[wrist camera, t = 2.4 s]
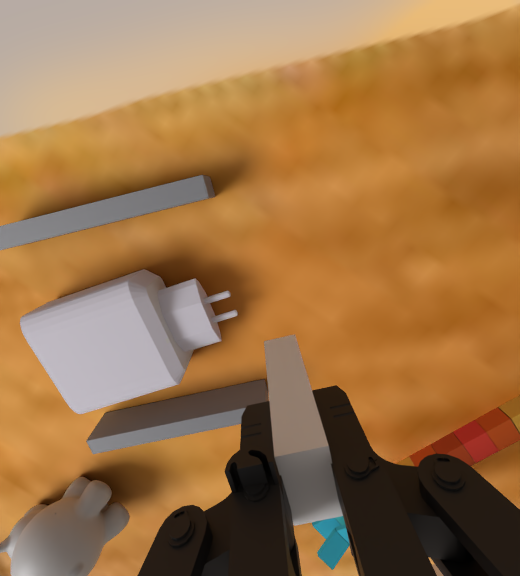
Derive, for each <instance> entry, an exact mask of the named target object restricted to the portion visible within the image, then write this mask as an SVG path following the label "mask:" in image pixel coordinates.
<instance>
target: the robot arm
mask: <svg viewBox="0 0 520 576" xmlns="http://www.w3.org/2000/svg"><path fill="white" fill-rule="evenodd" d="M264 346H265V357H266V368H267V380H268V391H269V401H266V402H262V403H257V404H252V405H248V406H247V407H246V409H245V411H244V412H243V414H242V417H241V442H240V450H239V451H238V452H237V453H235V454H234V455H233V456H232V457H231V459H230V460H229V461H228V463H227V466H226V469H225V474H226V477H227V479H228V482H229V485H230V488H231V490H232V493H231V494H230V495H229V496H228V497H227V498H226V499H224V500H223V501H221V502H220V503H218V504H217V505H215V506H213V507H211V508H209V509H208V510H206V511H204V512H203V510H202V509H201V508H200V507H197V506H194V505H189V506H183V507H181V508H179V509H177V510H176V511H174V512H173V513H172V514H171V515H170V516H169V517H167V518H166V519H165V521H164V523H163V524H162V526H161V527H160V529H159V531H158V533H157V535H156V537H155V540H154V542H153V544H152V546H151V548H150V550H149V552H148V555H147V557H146V559H145V561H144V563H143V565H142V568H141V570H140V572H139V574H138V576H302V574H301V567H300V560H299V552H298V546H297V543H296V539H295V536H294V528H293V524H294V526H295V525H300V524H305V523H310V522H315V521H320V520H325V519H330V518H335V517H340V516H343V518H344V521H345V525H346V529H347V534H348V539H349V544H350V548H351V553H352V556H353V557H354V560H355V564H356V567H357V571H358V575H359V576H437V575H436V573H435V571H434V569H433V567H432V565H431V563H430V560H429V558H428V557H431V559H432V560H433V562H434V563H435V564H436V566H437V567H438V568H439V570H440V571H441V573H442V574H443V575H444V576H520V510H519V509H518V508H517V507H516V506H515V505H514V504H513V503H511V502H510V501H509V500H508V499H507V498H506V497H505V496H504V495H502V494H501V493H500V492H499V491H498V490H497V489H496V488H494V487H493V486H492V485H491V484H490V483H489V482H488V481H487V480H485V479H484V478H483V477H482V476H481V475H480V474H479V473H477V472H476V471H475V470H474V469H473V468H472V467H471V466H469V465H468V464H466V463H465V462H464V461H462V460H461V459H459V458H456V457H453V456H451V455H448V454H432V455H428V456H426V457H425V458H424V459H422V460H421V461H420V463H419V466H418V467H417V466H407V465H399V464H394V463H391V462H388V461H386V460H384V459H383V458H381V457H379V456H378V455H377V454H376V453H375V452H374V451H373V449H372V448H371V446H370V444H369V442H368V440H367V438H366V436H365V433H364V431H363V429H362V427H361V425H360V423H359V421H358V418H357V416H356V414H355V412H354V410H353V408H352V406H351V404H350V401H349V399H348V397H347V395H346V393H345V392H344V391H343V390H341V389H340V388H339V387H338V386H331V387H327V388H322V389H317V390H313V391H312V389H311V386H310V383H309V379H308V376H307V373H306V369H305V366H304V363H303V360H302V356H301V353H300V350H299V346H298V343H297V340H296V336H295V335H290V336H286V337H281V338H277V339H273V340H268V341H264Z"/></svg>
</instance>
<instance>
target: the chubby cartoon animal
mask: <svg viewBox="0 0 520 576" xmlns="http://www.w3.org/2000/svg"><path fill="white" fill-rule="evenodd" d="M111 495H112V491H111V488H110V487H109V486H108V485H107V484H105V483H104V482H102V481H99V480H93V481H92V482H91V481H90V480H88V479H87V478H85V477H78V478H77V479H75V480H74V481H73V482H72V484H71V485H70V486H69V487H68V489H67V490H66V492H65V494H64V496H63V497H62V499H61V500H59V501H57V502H54V503H52V504H50V505H49V506H47V505H45V504H40V505H36V506H34V507H32V508H31V509H30V510H29V511H28V512H26V514H25V515H24V517H22V518H21V519H20V520H19V521H18V522H17V523H16V525H15V526H14V527H13V529H12V531H11V533H10V535H9V536H8V537H7V538H6V539H5V540H4V541H3V542H1V543H0V553H1V552H7V553H8V555H9V557H10V558H11V576H87V575H88V574H89V573H90V572H91V570H92V569H93V567H94V566H95V564H96V562H97V560H98V558H99V556H100V553H101V551H102V548H103V546H104V545H105V544H106V543H107V542H108V541H109V540H111V539H112V538H114V537H115V536H116V535H117V534H119V533H120V532H121V531H122V530H123V529H124V527H125V526H126V525H127V523H128V521H129V513H128V511H127V510H126V509H125V507H124V506H123V505H121V504H120V503H118V502H115V503H112V504H111V505H110V506H109V505H108V504H107V502H108V501H109V499H110V498H111Z"/></svg>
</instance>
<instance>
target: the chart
mask: <svg viewBox="0 0 520 576" xmlns="http://www.w3.org/2000/svg"><path fill="white" fill-rule="evenodd" d="M453 433H454V434H453ZM519 440H520V395H519V396H517V397H515V398H514V399H512V400H510V401H508V402H506V403H505V404H503V405H501V406H499V408H498V407H497V408H496V409H494V410H492V411H490V412H488V413H487V414H485V415H483V416H481V417H479V418H478V419H476V420H474V421H472V422H470V423H468V424H467V425H465V426H463V427H461V428H459V429H458V430H456V431H454V432H452V433H450V434H449V435H447V436H445V437H443V438H441V439H440V440H438V441H436V442H434V443H432V444H431V445H429V446H427V447H425V448H423V449H422V450H420V451H418V452H416V453H414V454H412V455H411V456H409V457H407V458H405V459H403V460H402V461H400V462H398V463H396V464H399V465H407V466H417V467H418V466H419V463H420V461H421V460H422V459H424V458H425V457H426V456H428V455H432V454H448V455H451V456H453V457H456V458H459V459H461V460H462V461H464V462H465V463H466V464H468V465H469V466H471V465H473V464H475V463H477V462H479V461H481V460H483V459H485V458H487V457H488V456H490V455H492V454H494V453H496V452H498V451H500V450H502V449H504V448H506V447H508V446H509V445H511V444H513V443H515V442H517V441H519ZM432 447H433V448H434V449H433V448H432ZM435 451H436V452H435ZM474 461H475V462H474ZM312 525H313V527H314V528H315V529H316V530H317V531H318V532H319V533H320V534H321V535H322V536H323V537H324V538H325V539H326V541H325V542H324V544H323V545H322V546H321V548H320V549H319V551H318V552H317V553H318V557H319V558H320V559H322V560H323V561H324V562H325V563H326V564H327V565H328V566H329V567H330V568H331V569H332V570H333V569H334V567H335V566H336V564H337V563H338V561H339V560H340V558H341V557H342V556H343V554H344V553H345V551H346V550H347V548H348V547H349V539H348V534H347V529H346V525H345V521H344V518H343V516H340V517H335V518H330V519H325V520H320V521H315V522H312Z"/></svg>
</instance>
